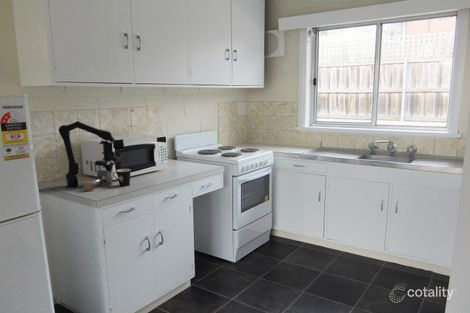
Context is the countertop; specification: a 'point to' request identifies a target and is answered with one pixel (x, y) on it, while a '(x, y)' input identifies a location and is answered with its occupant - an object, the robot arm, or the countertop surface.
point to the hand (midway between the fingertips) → (109, 173)
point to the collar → (107, 177)
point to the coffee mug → (123, 177)
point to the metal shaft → (89, 185)
